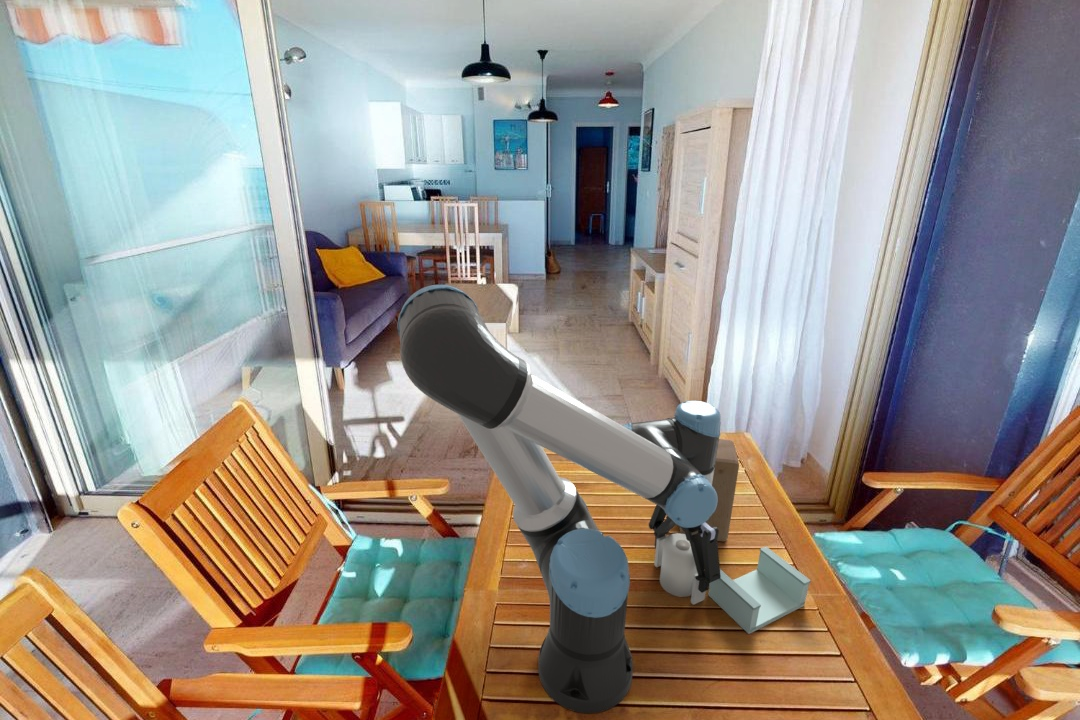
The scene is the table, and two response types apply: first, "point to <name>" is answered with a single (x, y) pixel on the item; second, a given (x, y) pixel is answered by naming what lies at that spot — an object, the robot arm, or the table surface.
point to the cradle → (761, 592)
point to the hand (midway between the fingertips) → (678, 581)
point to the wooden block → (723, 487)
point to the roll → (677, 566)
